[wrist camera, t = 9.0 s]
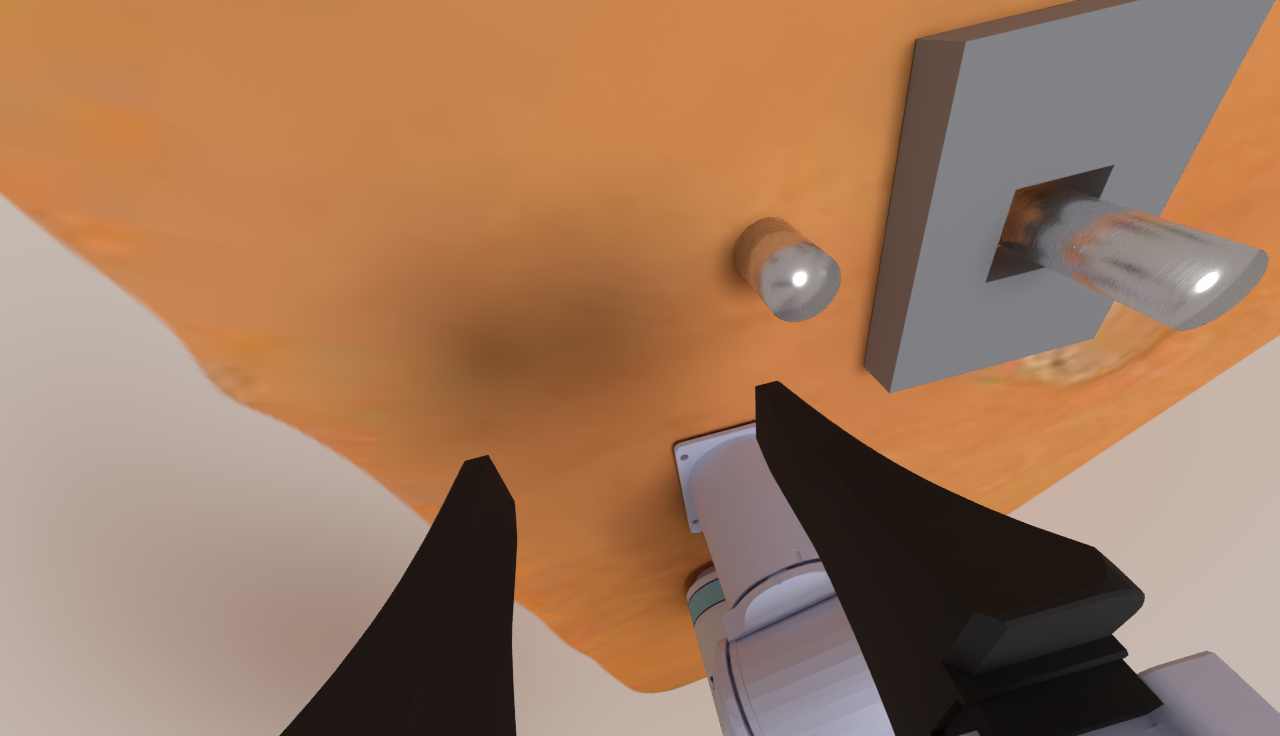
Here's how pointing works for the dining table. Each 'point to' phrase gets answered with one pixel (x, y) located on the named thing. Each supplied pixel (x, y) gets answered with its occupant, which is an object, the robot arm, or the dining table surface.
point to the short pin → (786, 269)
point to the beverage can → (708, 622)
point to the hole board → (1035, 166)
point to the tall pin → (1132, 255)
